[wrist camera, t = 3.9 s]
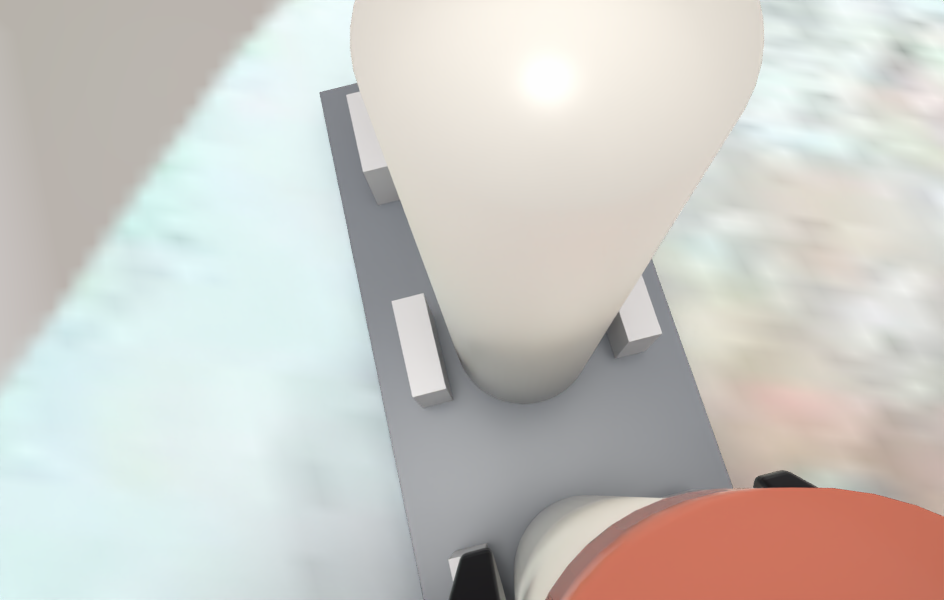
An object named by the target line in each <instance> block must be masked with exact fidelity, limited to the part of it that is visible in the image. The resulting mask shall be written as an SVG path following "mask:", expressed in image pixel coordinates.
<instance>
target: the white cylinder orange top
mask: <svg viewBox="0 0 944 600" xmlns="http://www.w3.org/2000/svg"><path fill="white" fill-rule="evenodd" d="M514 592H515V600H944V517H943V516H941V515H938V514H936V513H933V512H931V511H928V510H926V509H924V508H921V507H919V506H916V505H912V504H909V503H905V502H901V501H898V500H894V499H890V498H887V497H883V496H880V495H876V494H870V493H863V492H856V491H849V490H842V489H836V488H733V489H712V490H704V491H695V492H688V493H684V494H681V495H677V496H673V497H669V498H649V497H624V496H598V495H580V496H572V497H568V498H565V499H562V500H560V501H557V502H555V503H553V504H551V505H550V506H548V507H546V508H545V509H544V510H543V511H541V512H540V513H539V514H538V515H537V516H536V517H535V518H534V519H533V520H532V521H531V523H530V524H529V525H528V527H527V528H526V530H525V532H524V533H523V535H522V537H521V539H520V542H519V545H518V547H517V551H516V555H515V561H514Z"/></svg>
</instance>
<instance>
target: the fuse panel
mask: <svg viewBox="0 0 944 600" xmlns="http://www.w3.org/2000/svg"><path fill="white" fill-rule="evenodd" d="M763 47H764V26H763V15H762V10H761V5H760V1H759V0H355V3H354V7H353V13H352V19H351V25H350V51H351V58H352V64H353V71H354V74H355V77H356V81H357V83H356V84H352V85H348V86H344V87H339V88H335V89H331V90H327V91H323V92H320V97H321V102H322V107H323V112H324V117H325V122H326V127H327V131H328V136H329V141H330V146H331V151H332V156H333V161H334V165H335V170H336V175H337V180H338V185H339V190H340V195H341V199H342V204H343V209H344V214H345V219H346V224H347V229H348V233H349V238H350V243H351V248H352V253H353V258H354V263H355V268H356V272H357V277H358V282H359V287H360V292H361V297H362V302H363V306H364V311H365V316H366V321H367V326H368V331H369V336H370V340H371V345H372V350H373V355H374V360H375V365H376V370H377V375H378V379H379V384H380V389H381V394H382V399H383V404H384V409H385V413H386V418H387V423H388V428H389V433H390V438H391V443H392V447H393V452H394V457H395V462H396V467H397V472H398V477H399V482H400V486H401V491H402V496H403V501H404V506H405V511H406V516H407V520H408V525H409V530H410V535H411V540H412V545H413V550H414V554H415V559H416V564H417V569H418V574H419V579H420V584H421V589H422V593H423V598H424V600H448V598H449V595H450V591H451V588H452V584H453V581H454V577H455V574H456V570H457V566H458V563H459V560H460V558H461V556H462V555H463V554H464V553H467V552H470V551H474V550H478V549H482V548H490V549H491V550H492V552H493V555H494V558H495V562H496V565H497V569H498V572H499V576H500V579H501V583H502V586H503V590H504V594H505V598H506V600H515V592H514V561H515V555H516V551H517V547H518V545H519V542H520V539H521V537H522V535H523V533H524V532H525V530H526V528H527V527H528V525H529V524H530V523H531V521H532V520H533V519H534V518H535V517H536V516H537V515H538V514H539V513H540V512H541V511H543V510H544V509H545V508H546V507H548V506H550V505H551V504H553V503H555V502H557V501H560V500H562V499H565V498H568V497H572V496H580V495H598V496H624V497H649V498H669V497H673V496H677V495H681V494H684V493H688V492H695V491H704V490H712V489H733V487H732V484H731V481H730V478H729V476H728V473H727V470H726V467H725V464H724V461H723V459H722V456H721V453H720V450H719V447H718V444H717V442H716V439H715V436H714V433H713V430H712V428H711V425H710V422H709V419H708V416H707V413H706V411H705V408H704V405H703V402H702V399H701V397H700V394H699V391H698V388H697V385H696V382H695V380H694V377H693V374H692V371H691V368H690V365H689V363H688V360H687V357H686V354H685V351H684V349H683V346H682V343H681V340H680V337H679V334H678V332H677V329H676V326H675V323H674V320H673V318H672V315H671V312H670V309H669V306H668V303H667V301H666V298H665V295H664V292H663V289H662V286H661V284H660V281H659V278H658V275H657V272H656V270H655V267H654V264H653V261H652V257H653V256H654V254H655V252H656V251H657V249H658V248H659V246H660V244H661V243H662V241H663V240H664V238H665V236H666V235H667V233H668V232H669V230H670V228H671V227H672V225H673V224H674V222H675V220H676V219H677V217H678V216H679V214H680V212H681V211H682V209H683V208H684V206H685V204H686V203H687V201H688V200H689V198H690V196H691V195H692V193H693V192H694V190H695V188H696V187H697V185H698V184H699V182H700V180H701V179H702V177H703V176H704V174H705V172H706V171H707V169H708V168H709V166H710V164H711V163H712V161H713V159H714V158H715V156H716V155H717V153H718V151H719V150H720V148H721V147H722V145H723V143H724V142H725V140H726V139H727V137H728V135H729V134H730V132H731V131H732V129H733V127H734V126H735V124H736V123H737V121H738V119H739V118H740V116H741V115H742V113H743V111H744V110H745V108H746V106H747V104H748V101H749V99H750V97H751V95H752V93H753V90H754V88H755V86H756V82H757V79H758V75H759V71H760V68H761V64H762V56H763Z"/></svg>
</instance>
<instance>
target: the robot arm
mask: <svg viewBox="0 0 944 600" xmlns="http://www.w3.org/2000/svg"><path fill="white" fill-rule="evenodd" d="M753 488H818V487H816V486H814V485H812V484H811V483H809V482H807V481H805V480H803V479H802V478H800V477H798V476H796V475H794V474H793V473H791V472H788V471H784V470H781V471H776V472H772V473H768V474H764V475H761V476H758V477H757V478H756V479H755V481H754V486H753ZM448 600H506V598H505V594H504V590H503V586H502V583H501V579H500V576H499V572H498V569H497V565H496V562H495V558H494V555H493V552H492V550H491V549H490V548H482V549H478V550H474V551H470V552H467V553H464V554H463V555H462V556H461V558H460V560H459V563H458V566H457V570H456V574H455V577H454V581H453V584H452V588H451V591H450V595H449V598H448Z"/></svg>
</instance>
